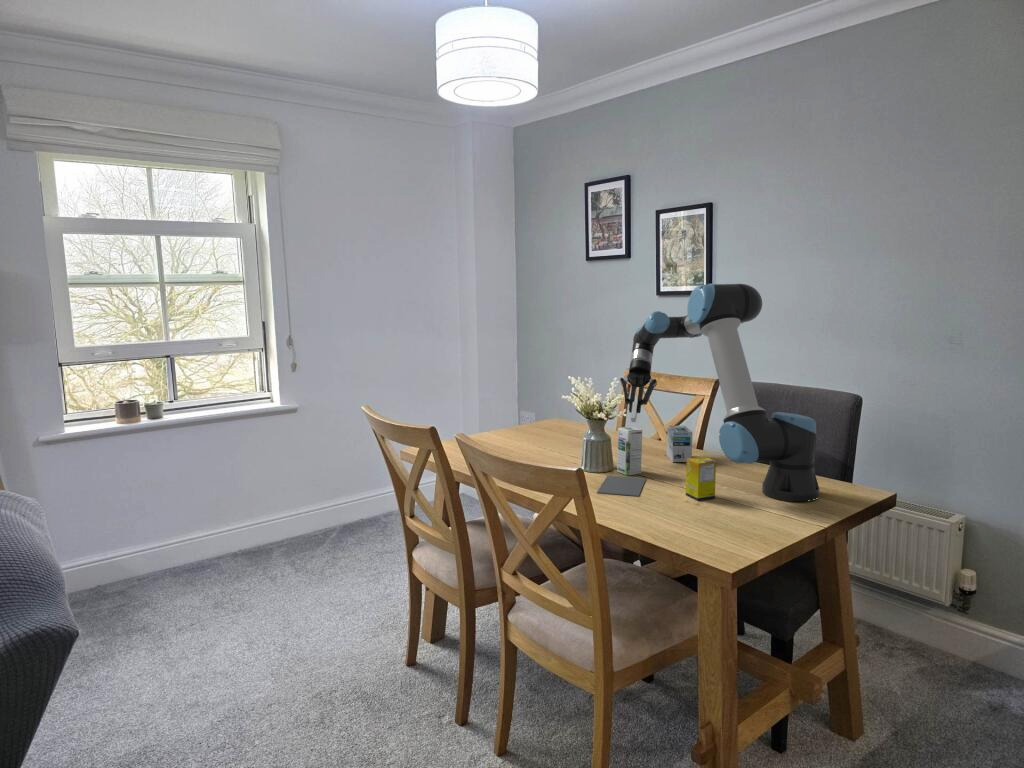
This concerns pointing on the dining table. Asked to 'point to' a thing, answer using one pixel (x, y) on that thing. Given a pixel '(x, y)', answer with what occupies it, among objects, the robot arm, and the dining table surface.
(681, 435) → the light bulb box
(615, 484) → the mat
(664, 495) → the dining table surface
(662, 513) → the dining table surface
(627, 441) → the syrup box
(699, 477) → the supplement box
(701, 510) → the dining table surface
